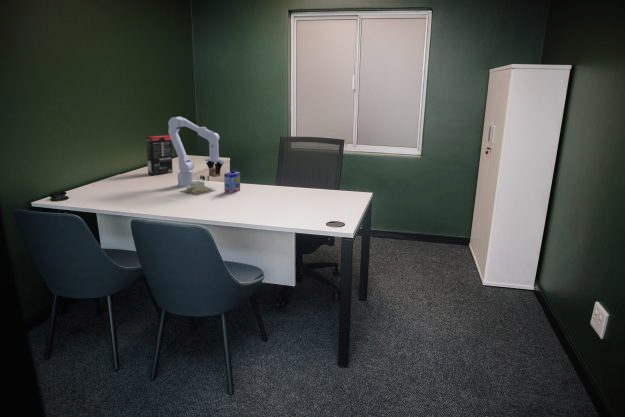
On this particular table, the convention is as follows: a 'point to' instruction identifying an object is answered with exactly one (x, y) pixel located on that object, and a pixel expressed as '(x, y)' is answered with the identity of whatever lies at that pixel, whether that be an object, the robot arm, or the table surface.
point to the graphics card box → (159, 154)
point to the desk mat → (197, 193)
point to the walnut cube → (213, 172)
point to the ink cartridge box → (232, 182)
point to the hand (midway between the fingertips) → (214, 173)
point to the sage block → (196, 184)
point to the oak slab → (197, 189)
